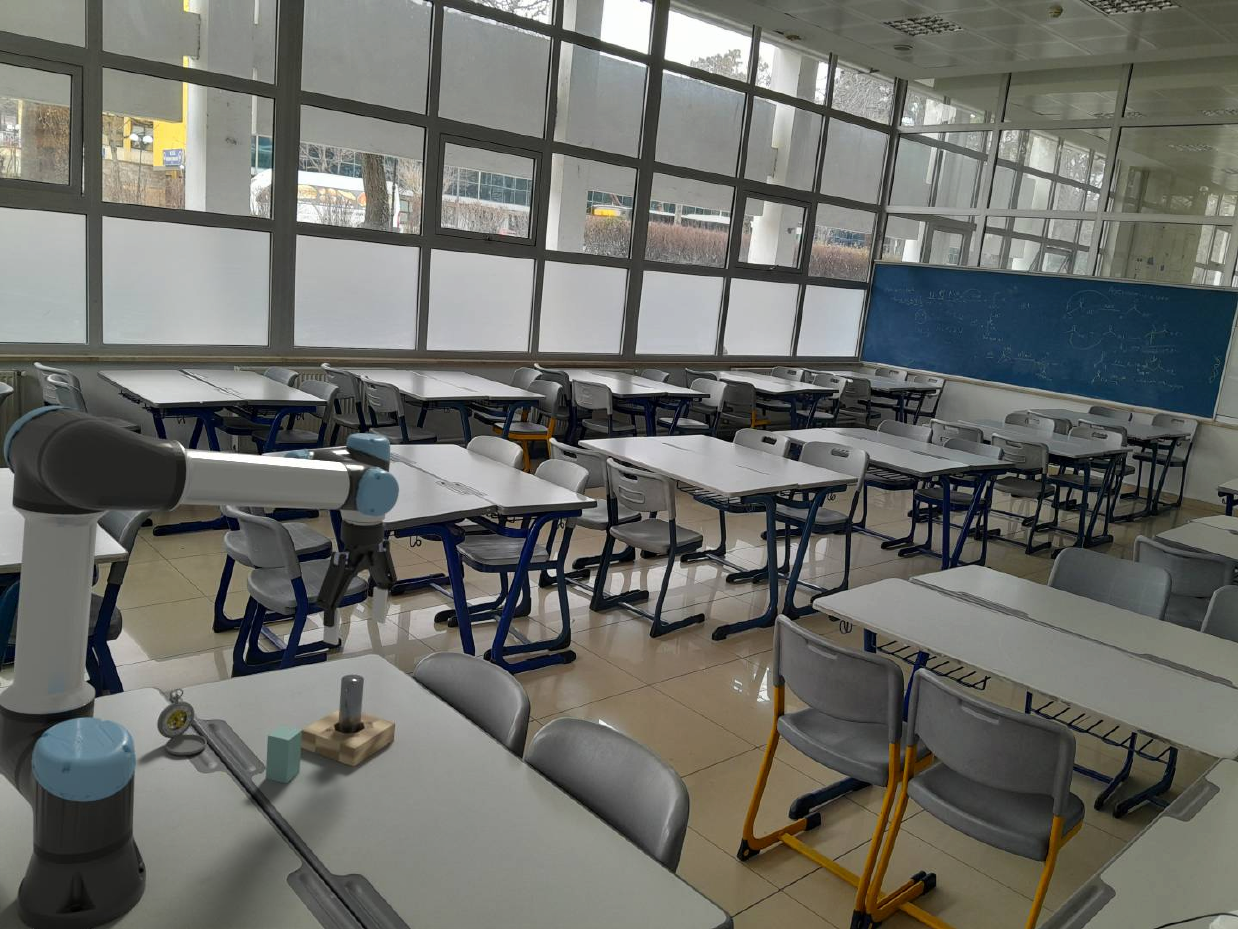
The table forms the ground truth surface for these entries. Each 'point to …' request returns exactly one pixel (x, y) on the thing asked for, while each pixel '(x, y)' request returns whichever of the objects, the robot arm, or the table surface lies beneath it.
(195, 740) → the pocket watch
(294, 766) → the square bit
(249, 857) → the table surface
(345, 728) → the cylinder
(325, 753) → the socket block
